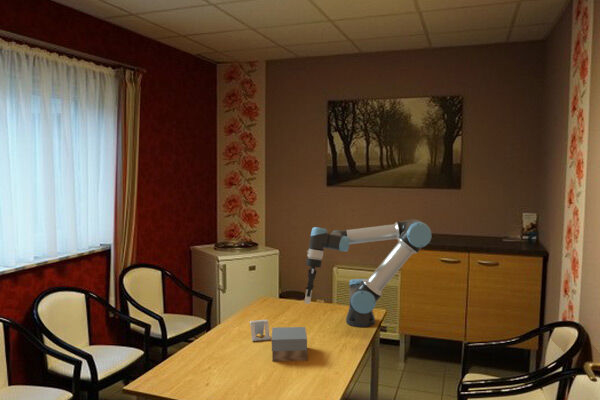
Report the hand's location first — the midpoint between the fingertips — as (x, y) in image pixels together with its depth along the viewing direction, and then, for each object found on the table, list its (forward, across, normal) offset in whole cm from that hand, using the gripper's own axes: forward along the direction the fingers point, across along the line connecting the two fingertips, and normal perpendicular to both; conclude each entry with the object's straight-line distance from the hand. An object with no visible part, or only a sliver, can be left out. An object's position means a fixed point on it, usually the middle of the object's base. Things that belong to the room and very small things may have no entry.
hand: (307, 301), depth 239 cm
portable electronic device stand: (+21, +2, -20) cm, 29 cm away
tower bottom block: (+22, +21, -4) cm, 30 cm away
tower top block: (+17, +22, -5) cm, 28 cm away
